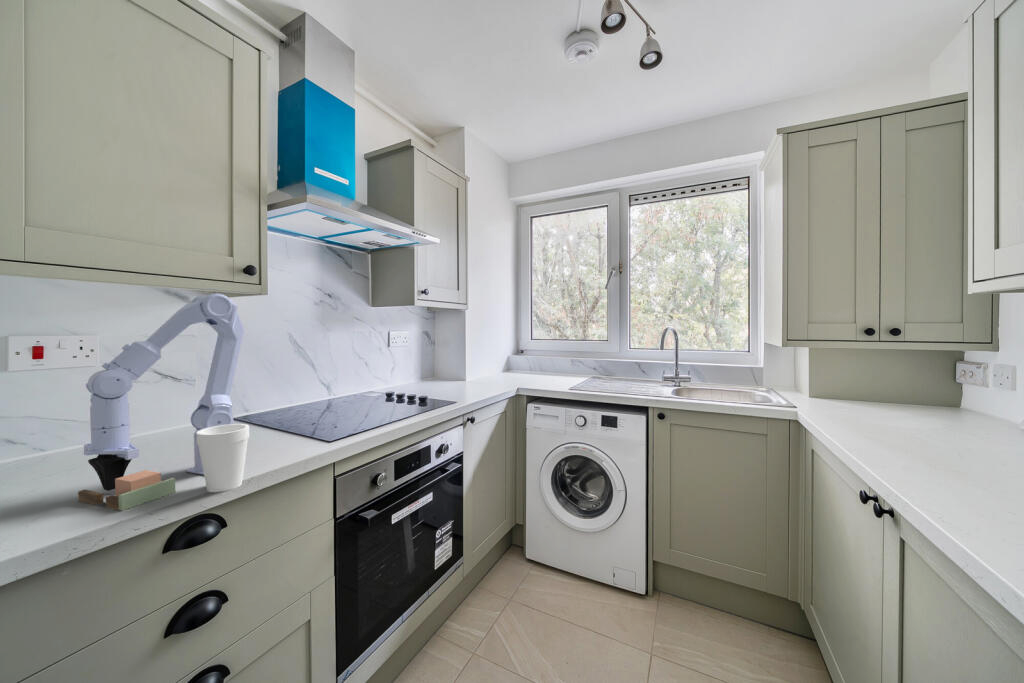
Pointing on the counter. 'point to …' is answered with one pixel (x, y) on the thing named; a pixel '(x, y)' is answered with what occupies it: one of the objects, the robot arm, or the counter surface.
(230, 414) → the robot arm
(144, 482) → the terracotta block
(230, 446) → the foam cup
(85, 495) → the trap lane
